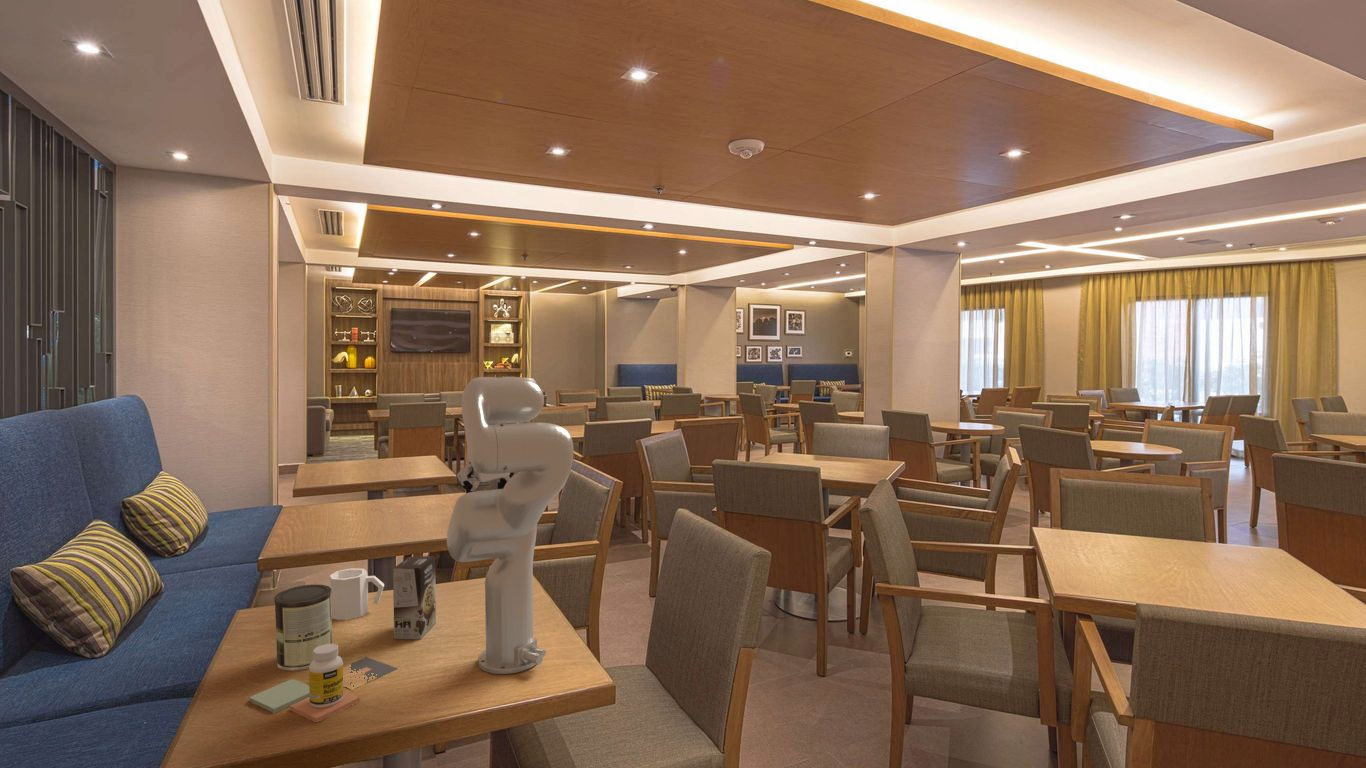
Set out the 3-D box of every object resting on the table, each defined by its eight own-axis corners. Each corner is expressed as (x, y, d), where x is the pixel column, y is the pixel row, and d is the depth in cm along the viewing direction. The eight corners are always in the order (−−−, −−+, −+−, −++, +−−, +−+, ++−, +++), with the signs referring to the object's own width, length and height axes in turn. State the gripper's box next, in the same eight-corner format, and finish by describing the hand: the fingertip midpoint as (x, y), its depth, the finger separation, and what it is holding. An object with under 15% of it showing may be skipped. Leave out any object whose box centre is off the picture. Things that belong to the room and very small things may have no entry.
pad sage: (317, 693, 128) (317, 689, 128) (274, 713, 121) (273, 708, 121) (292, 682, 132) (292, 678, 132) (249, 701, 125) (249, 697, 125)
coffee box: (421, 639, 151) (420, 568, 150) (393, 639, 151) (391, 567, 151) (437, 623, 160) (436, 555, 160) (410, 622, 161) (408, 555, 160)
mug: (326, 622, 161) (325, 581, 160) (334, 608, 169) (333, 569, 168) (382, 616, 164) (381, 576, 163) (387, 603, 172) (386, 565, 172)
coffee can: (264, 667, 138) (261, 598, 138) (306, 645, 148) (304, 581, 147) (304, 674, 135) (301, 604, 134) (344, 652, 145) (342, 587, 144)
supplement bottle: (323, 711, 120) (322, 657, 120) (302, 704, 122) (301, 651, 122) (350, 697, 125) (348, 645, 124) (329, 691, 127) (328, 639, 127)
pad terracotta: (359, 702, 125) (359, 697, 125) (317, 722, 118) (316, 718, 118) (332, 690, 129) (332, 686, 129) (290, 710, 122) (290, 706, 122)
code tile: (397, 670, 138) (397, 668, 138) (352, 692, 129) (352, 689, 129) (366, 658, 143) (366, 656, 143) (320, 678, 134) (320, 676, 134)
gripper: (470, 435, 149) (471, 513, 150) (525, 427, 164) (526, 498, 165) (446, 433, 153) (447, 509, 154) (502, 425, 168) (503, 494, 169)
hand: (488, 503), depth 159 cm, fingers open, 9 cm apart
